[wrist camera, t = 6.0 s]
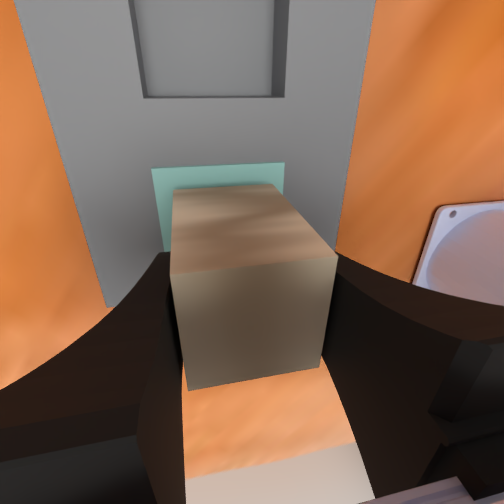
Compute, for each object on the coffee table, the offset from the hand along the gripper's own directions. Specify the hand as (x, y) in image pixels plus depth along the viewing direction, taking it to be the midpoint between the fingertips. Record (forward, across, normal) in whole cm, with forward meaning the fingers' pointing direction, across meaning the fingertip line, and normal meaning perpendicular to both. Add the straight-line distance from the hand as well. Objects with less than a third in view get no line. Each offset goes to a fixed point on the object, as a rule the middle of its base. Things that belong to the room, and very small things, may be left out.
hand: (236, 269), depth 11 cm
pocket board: (+6, 0, -4) cm, 8 cm away
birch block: (+3, 0, 0) cm, 3 cm away
